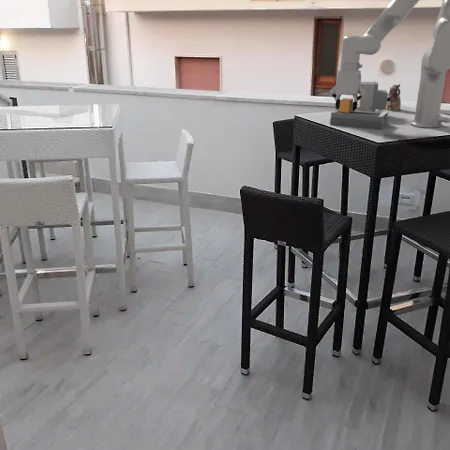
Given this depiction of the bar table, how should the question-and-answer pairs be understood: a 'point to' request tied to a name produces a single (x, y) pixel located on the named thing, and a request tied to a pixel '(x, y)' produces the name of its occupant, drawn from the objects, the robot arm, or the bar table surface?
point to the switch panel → (358, 123)
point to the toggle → (346, 105)
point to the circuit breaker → (372, 98)
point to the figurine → (394, 99)
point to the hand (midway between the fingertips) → (346, 109)
